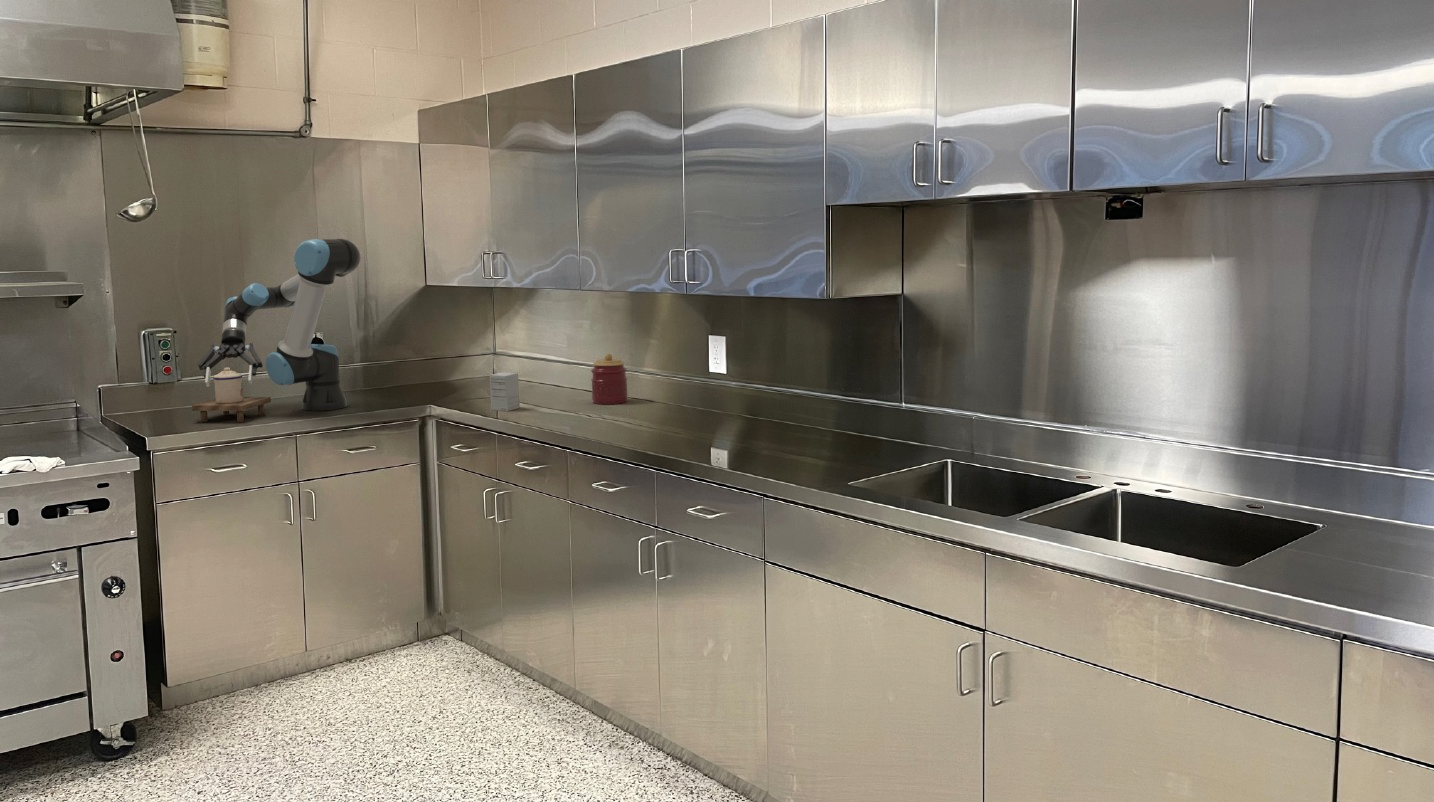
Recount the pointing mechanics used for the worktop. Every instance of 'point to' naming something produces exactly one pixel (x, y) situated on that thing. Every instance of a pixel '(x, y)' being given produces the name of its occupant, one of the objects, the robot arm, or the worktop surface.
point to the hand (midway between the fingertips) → (228, 383)
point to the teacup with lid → (228, 387)
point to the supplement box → (504, 391)
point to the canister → (609, 381)
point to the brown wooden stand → (231, 407)
